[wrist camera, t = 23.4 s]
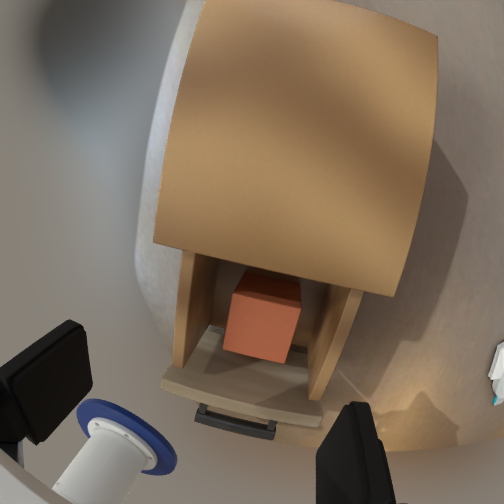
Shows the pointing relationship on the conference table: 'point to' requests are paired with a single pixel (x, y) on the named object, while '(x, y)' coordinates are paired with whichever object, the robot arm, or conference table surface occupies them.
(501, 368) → the toy rocket
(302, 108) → the cabinet
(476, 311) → the conference table surface
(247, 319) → the block
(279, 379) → the drawer
